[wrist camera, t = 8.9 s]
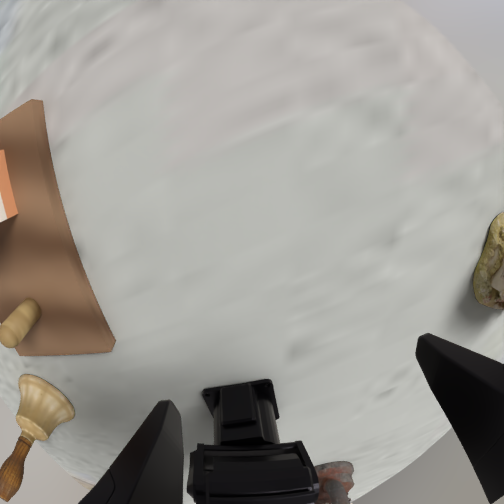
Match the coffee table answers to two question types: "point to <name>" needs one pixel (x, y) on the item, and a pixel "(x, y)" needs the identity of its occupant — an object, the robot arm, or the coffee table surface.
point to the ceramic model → (491, 268)
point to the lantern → (334, 482)
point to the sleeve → (6, 191)
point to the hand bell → (33, 426)
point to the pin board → (42, 253)
